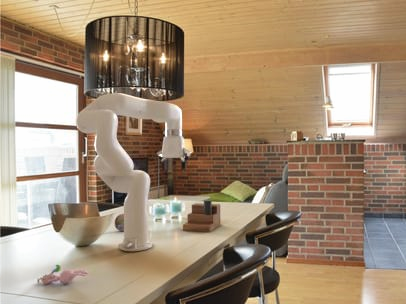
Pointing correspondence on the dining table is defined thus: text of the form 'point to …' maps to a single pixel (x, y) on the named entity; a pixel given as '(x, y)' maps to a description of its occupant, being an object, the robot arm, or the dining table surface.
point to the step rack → (202, 219)
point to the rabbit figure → (61, 276)
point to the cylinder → (207, 207)
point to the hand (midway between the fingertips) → (174, 170)
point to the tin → (119, 222)
